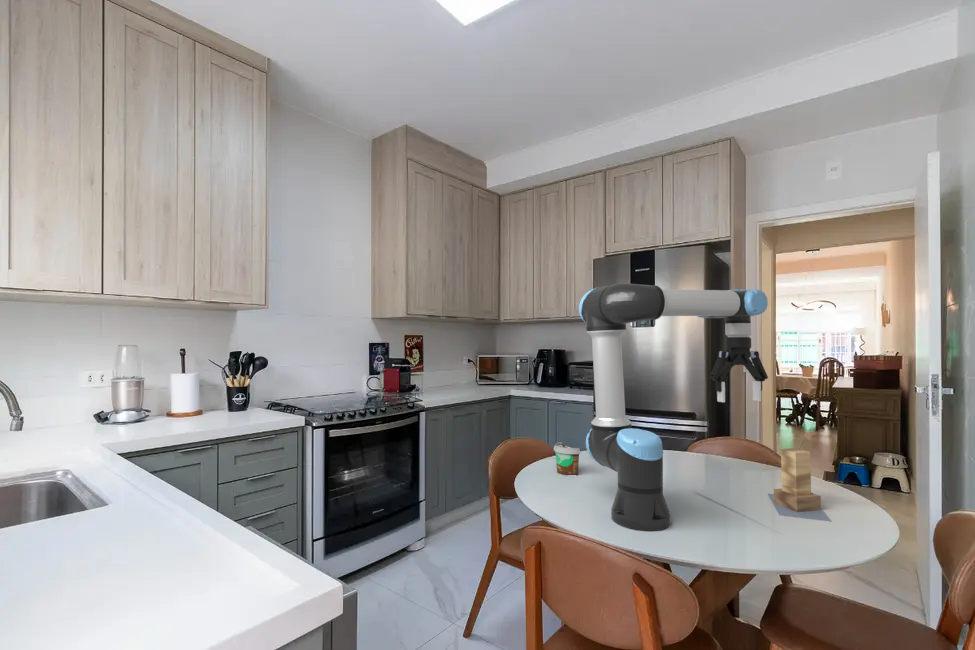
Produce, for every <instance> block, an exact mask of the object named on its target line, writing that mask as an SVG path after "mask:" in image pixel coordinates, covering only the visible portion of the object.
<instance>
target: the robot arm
mask: <svg viewBox="0 0 975 650" xmlns="http://www.w3.org/2000/svg"><path fill="white" fill-rule="evenodd" d="M768 305H769V304H768V297H767V295H766V294H765V292H764V291H762V290H760V289H742V288H741V289H736V288H735V289H728V290H726V289H725V290H722V289H669V288H665V289H664V288H662V287H660V286H659V285H656V284H655V285H654V284H653V285H652V284H651V285H650V284H638V283H627V282H626V283H625V282H620V283H614V284H611V285H610V284H609V285H604V286H598V287H595V288H592V289H590V290H589V291H587V292H586V293H585V294H584V295H583V296H582V297H581V299H580V302H579V305H578V311H579V315H580V319H581V320H582V321H583V322H584V323H585V326H586V327H585V329H586V333H587V334H588V335H589V336H590V338H591V341H592V342H591V344H592V345H591V346H592V359H593V360H592V362H593V365H592V367H593V380H594V381H593V384H594V403H595V417H594V418H593V419H592V420H591V422H590V424H591V425H590V426H591V428H590V429H589V432H588V433H587V435H586V437H585V438H586V439H585V447H586V451H587V453H588V455H589V456H590V457H591V459H592V460H594V461H595V462H597V463H598V464H599V465H600V466H603V467H606V468H609V470H612V471H615V472H616V473H617V490H616V494H615V495H614V500H613V503H612V507H611V510H610V512H611V519H612V520H613V522H615V523H616V524H618V525H620V526H621V527H625V528H628V529H633V530H637V531H638V530H640V531H647V532H648V531H652V532H653V531H660V530H661V531H662V530H666V529H667V528H668V527H670V525H671V514H670V510H669V508H668V504H667V501H666V499H665V498H666V497H665V496H664V482H663V481H664V478H663V475H664V474H663V473H664V464H663V463H664V462H663V461H664V458H663V457H664V450H663V448H664V447H663V442H662V439H661V437H660V436H659V435H658V434H656V433H655V432H652V431H649V430H645V429H640V428H632V421H631V420H629V419H628V417H626V403H625V401H626V400H625V385H624V384H625V382H624V364H623V346H622V336H623V335H624V334H625V333H626V331H627V324H631V323H636V322H641V321H650V320H652V321H654V320H658V319H660V318H661V317H698V318H701V319H703V318H704V319H724V324H725V325H724V326H725V327H724V328H725V329H724V333H725V336H726V337H725V342H724V343H725V344H724V345H725V348H726V350H725V351H724V350H723V351H722V350H718V351H717V358H716V360H715V363H714V365H713V368H712V370H711V372H710V375H709V379H710V380H712V382H714V383H715V385H714V386H715V391H716V399H717V400H716V402H718V403H725V402H726V383H725V382H726V381H724V379H725V378H726V376H727V375H728V374H729V372H730V371H731V370H732V369H733V367H734V366H739V365H740V366H744V367H745V369H746V370H747V372H749V374H750V376H751V377H752V378H753V379H754V380H752V382H751V383H752V401H755V402H762V391H763V382H765V381H766V380H767V379H768V377H769V376H768V374H767V372H766V369H765V367H764V365H763V362H762V361H761V358H760V353H759V351H757V350H755V351H754V350H751V348H752V338H751V337H750V336H752V323H751V322H752V321H751V317H754V316H757V315H758V316H760V315H761V314H764V313H765V312H766V311H767V308H768Z"/></svg>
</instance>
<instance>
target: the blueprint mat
mask: <svg viewBox="0 0 975 650" xmlns="http://www.w3.org/2000/svg"><path fill="white" fill-rule="evenodd" d="M767 496H768V497H769V499H770V501H771V503H772V505H773V507H774V508H775V510H776V512H777V514H778V516H782V517H791V518H796V519H797V518H799V519H806V520H813V521H814V520H816V521H823V522H829V523H830V522H833V520H831V518H830V517H829V516H828V515H827V513H825V511H824V509H822V508H821V510H817V511H806V512H795V511H793V510H790V509H788V508H786V507H783V506H781V505H778V504H776V503H774V493H767Z"/></svg>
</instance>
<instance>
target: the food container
mask: <svg viewBox="0 0 975 650" xmlns="http://www.w3.org/2000/svg"><path fill="white" fill-rule="evenodd" d="M553 451H554V452H555V462H556V463H555V464H556V472H557V474H559V475H562V476H568V475H576V476H578V475H579V460H580V454H581V450H580V447H572V446H570V445H564V444H563V442H562V441H560V442H559V441H558V442H556V443H554V446H553Z"/></svg>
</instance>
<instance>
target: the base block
mask: <svg viewBox="0 0 975 650" xmlns="http://www.w3.org/2000/svg"><path fill="white" fill-rule="evenodd" d="M773 494H774V503H776V504H778V505H781V506H783V507H786V508H788V509H790V510H793V511H795V512H806V511H817V510H821V509H822V501H821V500H822V499H821V495H819V494H816V493H813V492H811V495H799V496H796V495H793V494H791V493H788V492H785V491H783V490H782V487H780V488H773Z"/></svg>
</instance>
